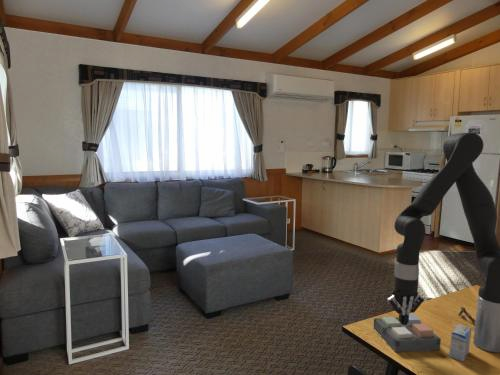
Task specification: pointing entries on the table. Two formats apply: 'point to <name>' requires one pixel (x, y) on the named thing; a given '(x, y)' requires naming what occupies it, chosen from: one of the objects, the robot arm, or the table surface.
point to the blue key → (413, 320)
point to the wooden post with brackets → (466, 315)
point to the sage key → (390, 322)
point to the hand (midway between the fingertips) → (403, 323)
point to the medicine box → (460, 342)
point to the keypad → (406, 339)
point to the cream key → (401, 332)
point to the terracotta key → (422, 330)
